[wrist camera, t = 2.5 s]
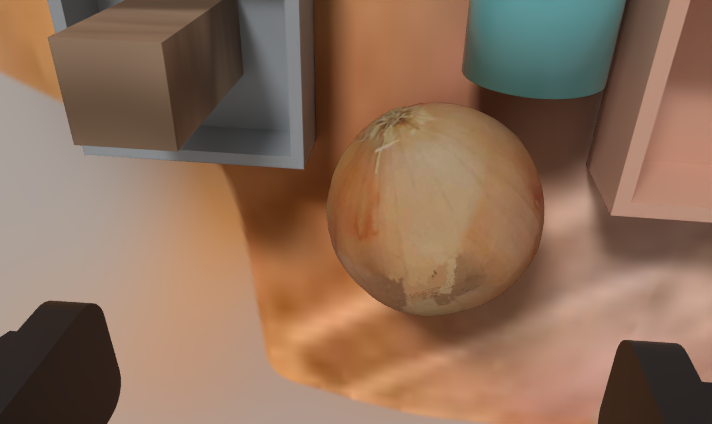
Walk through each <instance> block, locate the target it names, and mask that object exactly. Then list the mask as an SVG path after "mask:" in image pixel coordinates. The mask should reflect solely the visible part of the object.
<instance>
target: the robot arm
mask: <svg viewBox="0 0 712 424" xmlns="http://www.w3.org/2000/svg"><path fill="white" fill-rule="evenodd" d="M120 388H121V376H120V370H119V367H118V363H117V360H116V357H115V353H114V349H113V345H112V342H111V339H110V335H109V331H108V327H107V324H106V320H105V317H104V314H103V311H102V309H101V308H100V307H99V306H98V305H97V304H93V303H78V302H63V301H47V302H44V303H43V304H41V305H40V306H39V307H38V308H37V309H36V310H35V311H34V313H33V314H32V315H31V316H30V317H29V318H28V319H27V321H26V322H25V323H24V324H23V325H22V326H21V328H19V330H18V331H9V332H7V333H6V334H4V335H3V336H1V337H0V424H107V423H108V421H109V419H110V418H111V416H112V414H113V412H114V410H115V408H116V405H117V402H118V399H119V395H120ZM598 424H712V383H709V382H702V381H701V379H700V377H699V375H698V373H697V372H696V370H695V368H694V366H693V364H692V362H691V360H690V358H689V356H688V354H687V353H686V351H685V349H684V348H683V347H682V346H681V345H679V344H677V343H663V342H648V341H633V340H623V341H622V342H621V343H620V344H619V346H618V348H617V351H616V355H615V358H614V362H613V365H612V369H611V372H610V376H609V380H608V383H607V387H606V390H605V394H604V397H603V401H602V404H601V408H600V412H599V418H598Z"/></svg>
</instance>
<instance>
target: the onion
mask: <svg viewBox="0 0 712 424" xmlns="http://www.w3.org/2000/svg"><path fill="white" fill-rule="evenodd" d="M326 209H327V222H328V229H329V233H330V237H331V242H332V245H333V248H334V250H335V253H336V255H337V257H338V259H339V260H340V262H341V264H342V265H343V267H344V268H345V269H346V271H347V272H348V273H349V275H350V276H351V277H352V278H353V279H354V281H355V282H356V283H357V284H359V285H360V286H361V287H362V288H363V289H364V290H365V291H366V292H367V293H369V294H370V295H371V296H372V297H373V298H375V299H376V300H378V301H379V302H381V303H383V304H384V305H386V306H388V307H391V308H393V309H395V310H398V311H401V312H404V313H408V314H413V315H418V316H437V315H445V314H451V313H456V312H460V311H464V310H467V309H470V308H474V307H477V306H479V305H482V304H484V303H486V302H488V301H491V300H492V299H494V298H496V297H497V296H499V295H500V294H502V293H503V292H504V291H505V290H507V289H508V288H509V287H510V286H511V285H512V284H513V283H514V282H515V281H516V280H517V279H518V278H519V277H520V276H521V274H522V273H523V272H524V271H525V269H526V268H527V267H528V265H529V264H530V262H531V260H532V259H533V257H534V255H535V253H536V251H537V249H538V247H539V244H540V240H541V236H542V230H543V224H544V198H543V191H542V187H541V182H540V178H539V175H538V172H537V170H536V167H535V164H534V162H533V160H532V158H531V156H530V154H529V153H528V151H527V150H526V148H525V147H524V145H523V144H522V142H521V141H520V139H519V138H518V137H517V136H516V135H515V134H514V133H513V132H512V131H511V130H509V129H508V128H507V127H506V126H504V125H503V124H502V123H500V122H499V121H497V120H496V119H494V118H492V117H490V116H488V115H486V114H484V113H482V112H480V111H477V110H475V109H472V108H469V107H465V106H461V105H457V104H449V103H419V104H416V105H412V106H409V107H402V108H397V109H394V110H391V111H389V112H387V113H386V114H384V115H382V116H381V117H379V118H378V119H376V120H375V121H373V122H372V123H371V124H369V125H368V126H367V127H366V128H364V129H363V130H362V131H361V132H360V133H359V134H358V135H357V137H356V138H355V140H354V141H353V142H352V143H351V144H350V145H349V146H348V147H347V149H346V150H345V151H344V153H343V155H342V157H341V159H340V160H339V163H338V165H337V167H336V169H335V171H334V173H333V176H332V180H331V185H330V189H329V193H328V200H327V207H326Z"/></svg>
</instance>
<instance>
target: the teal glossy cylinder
mask: <svg viewBox="0 0 712 424" xmlns="http://www.w3.org/2000/svg"><path fill="white" fill-rule="evenodd" d="M625 3H626V0H470V1H469V10H468V19H467V28H466V37H465V46H464V55H463V64H462V73H463V75H464V76H465V77H466V78H467V79H468V80H470V81H471V82H473V83H475V84H477V85H479V86H482V87H484V88H487V89H490V90H493V91H496V92H500V93H504V94H509V95H514V96H520V97H528V98H538V99H572V98H580V97H585V96H589V95H593V94H595V93H598V92H600V91H601V90H603V89H604V87H605V86H606V82H607V78H608V74H609V70H610V66H611V61H612V57H613V53H614V49H615V45H616V41H617V36H618V32H619V28H620V24H621V20H622V16H623V11H624V7H625Z"/></svg>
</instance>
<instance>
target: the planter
mask: <svg viewBox="0 0 712 424" xmlns="http://www.w3.org/2000/svg"><path fill="white" fill-rule="evenodd" d="M586 166H587V168H588V170H589V172H590V174H591V176H592V178H593V180H594V182H595V184H596V186H597V188H598V190H599V192H600V194H601V196H602V199H603V201H604V203H605V205H606V207H607V209H608V211H609V213H610V215H612V216H626V217H640V218H655V219H669V220H683V221H698V222H712V0H626V3H625V7H624V11H623V16H622V20H621V24H620V28H619V32H618V36H617V41H616V45H615V49H614V53H613V57H612V61H611V66H610V70H609V74H608V78H607V82H606V86H605V89H604V93H603V97H602V101H601V106H600V110H599V114H598V118H597V122H596V126H595V131H594V135H593V139H592V143H591V147H590V151H589V156H588V160H587V164H586Z"/></svg>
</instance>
